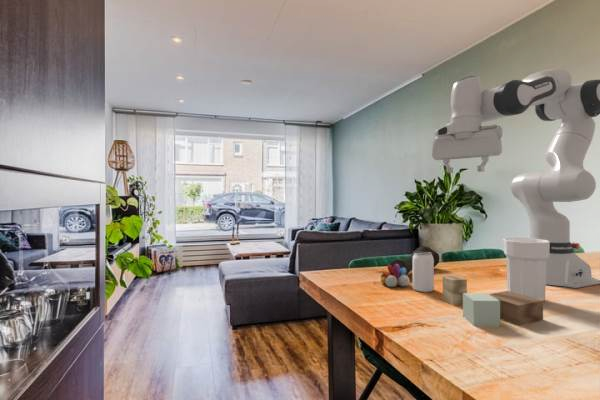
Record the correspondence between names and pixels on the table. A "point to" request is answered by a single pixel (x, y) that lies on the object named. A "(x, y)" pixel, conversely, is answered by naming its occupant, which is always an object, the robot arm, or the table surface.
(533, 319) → the walnut block
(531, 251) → the cup
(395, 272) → the colorful ball cluster
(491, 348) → the table surface
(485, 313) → the sage block
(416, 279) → the can
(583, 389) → the table surface
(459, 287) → the oak block
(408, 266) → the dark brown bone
